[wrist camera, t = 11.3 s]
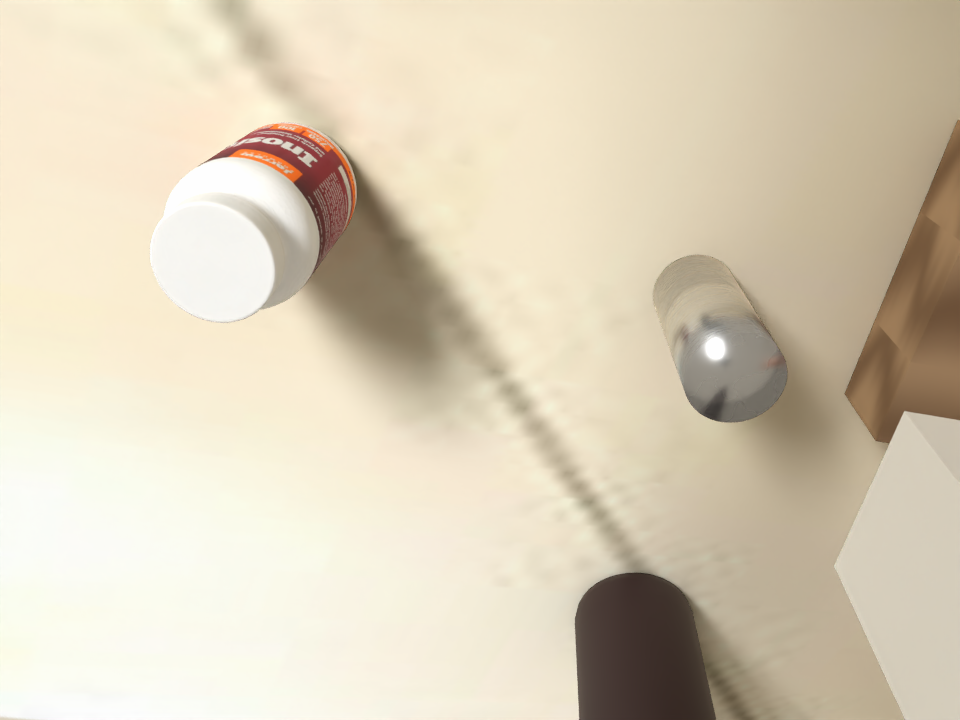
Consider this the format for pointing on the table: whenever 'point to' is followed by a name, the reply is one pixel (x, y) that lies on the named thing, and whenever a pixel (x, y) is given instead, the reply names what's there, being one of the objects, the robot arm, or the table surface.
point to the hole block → (918, 318)
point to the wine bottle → (639, 653)
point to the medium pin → (717, 341)
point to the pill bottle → (253, 222)
